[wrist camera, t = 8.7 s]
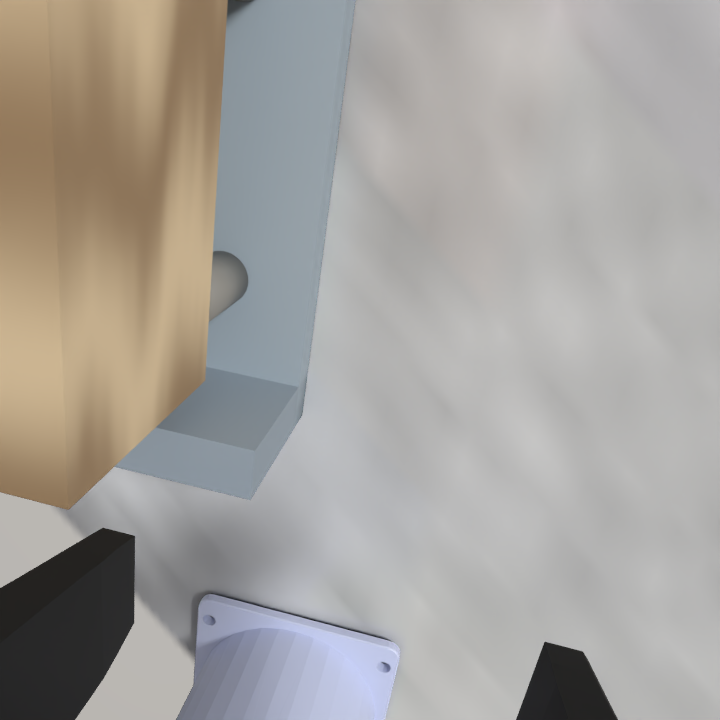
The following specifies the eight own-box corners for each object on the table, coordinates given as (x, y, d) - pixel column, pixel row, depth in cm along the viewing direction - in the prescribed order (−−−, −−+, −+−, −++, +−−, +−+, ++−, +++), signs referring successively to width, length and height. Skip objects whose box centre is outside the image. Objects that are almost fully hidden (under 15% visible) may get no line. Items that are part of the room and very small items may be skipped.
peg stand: (302, 415, 20) (250, 500, 16) (82, 365, 21) (-27, 432, 17) (386, -239, 14) (339, -416, 9) (63, -271, 15) (-124, -447, 10)
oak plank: (49, -224, 12) (-306, -503, 7) (239, -202, 12) (27, -483, 6) (69, 350, 17) (-126, 459, 12) (205, 380, 17) (68, 509, 11)
